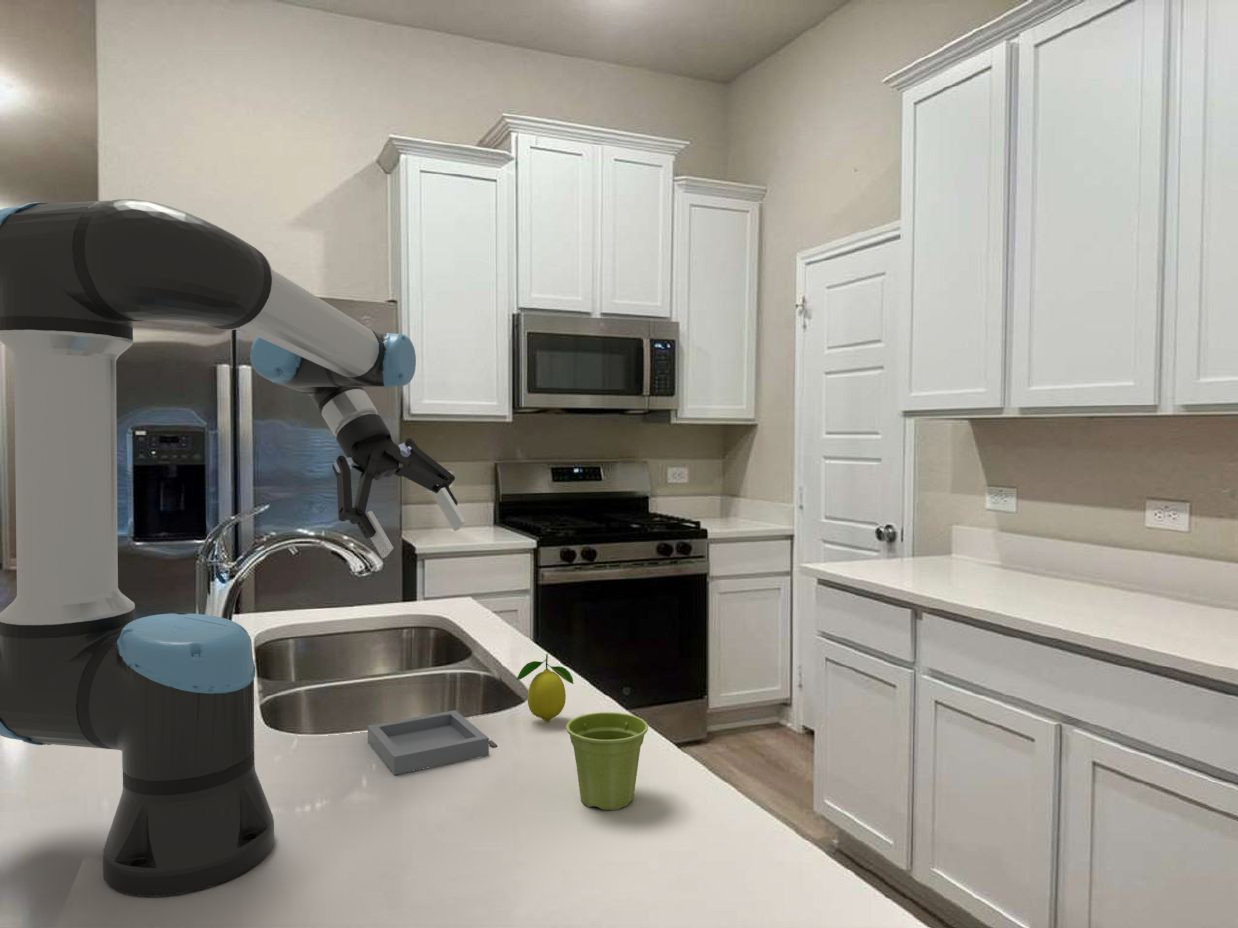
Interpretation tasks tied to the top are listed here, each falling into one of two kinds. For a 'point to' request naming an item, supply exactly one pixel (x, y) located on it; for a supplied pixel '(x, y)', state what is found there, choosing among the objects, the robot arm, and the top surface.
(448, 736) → the dish
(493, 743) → the perforation strip
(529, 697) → the lemon
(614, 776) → the plant pot
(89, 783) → the top surface
